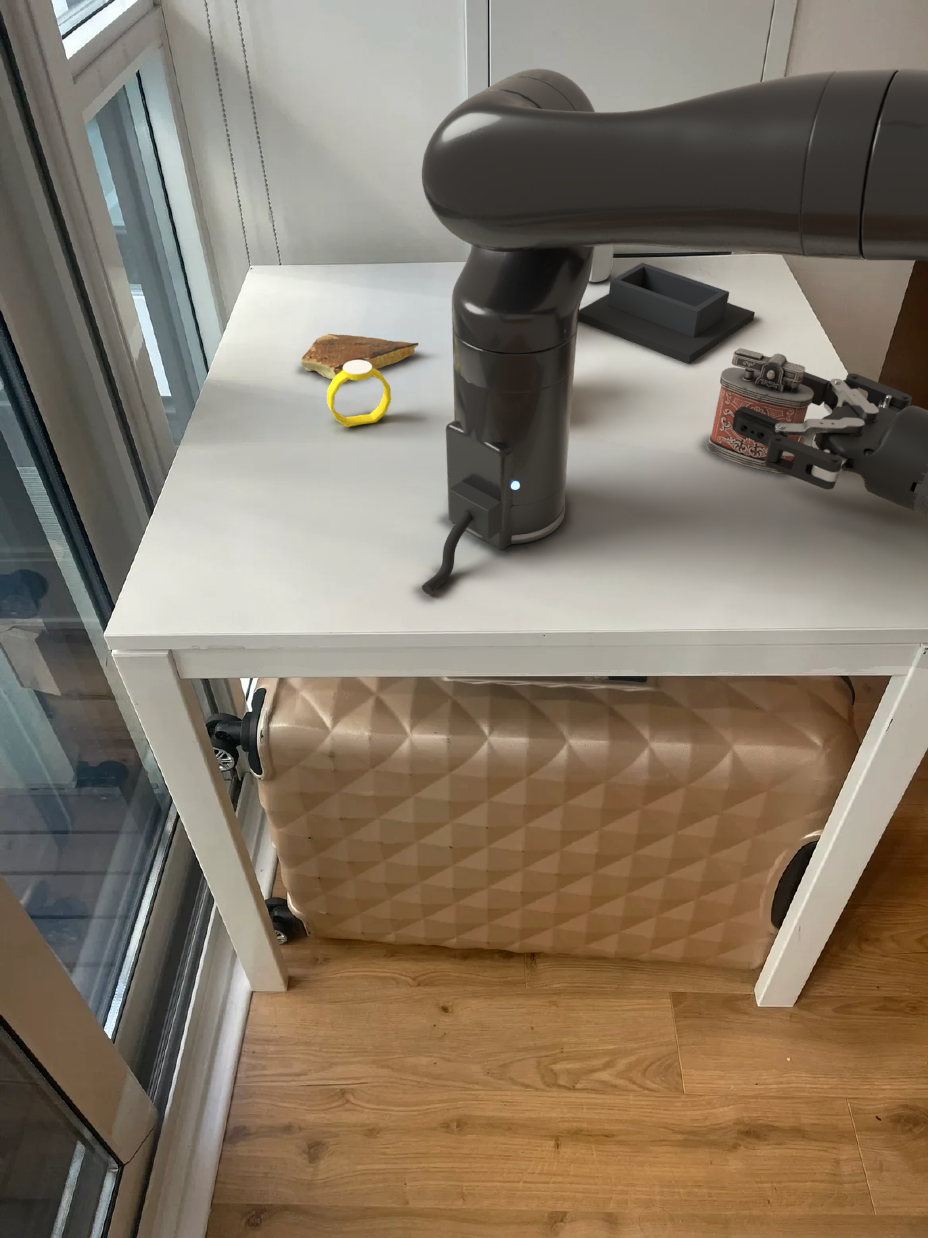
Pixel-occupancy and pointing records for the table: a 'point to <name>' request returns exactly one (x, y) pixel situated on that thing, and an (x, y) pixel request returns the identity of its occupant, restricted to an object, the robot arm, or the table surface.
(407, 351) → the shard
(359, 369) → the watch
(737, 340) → the table surface
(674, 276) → the dock pad
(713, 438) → the lighter
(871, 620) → the table surface
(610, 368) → the table surface
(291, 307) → the table surface
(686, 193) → the robot arm
